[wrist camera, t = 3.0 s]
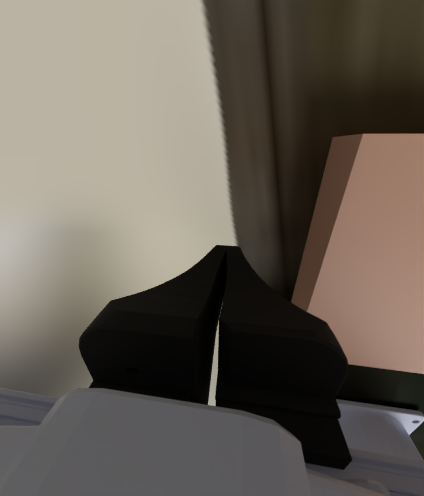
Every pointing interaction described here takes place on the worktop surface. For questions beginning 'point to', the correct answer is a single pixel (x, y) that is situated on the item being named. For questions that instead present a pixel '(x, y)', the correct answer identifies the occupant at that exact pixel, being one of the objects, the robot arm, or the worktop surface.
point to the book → (369, 250)
